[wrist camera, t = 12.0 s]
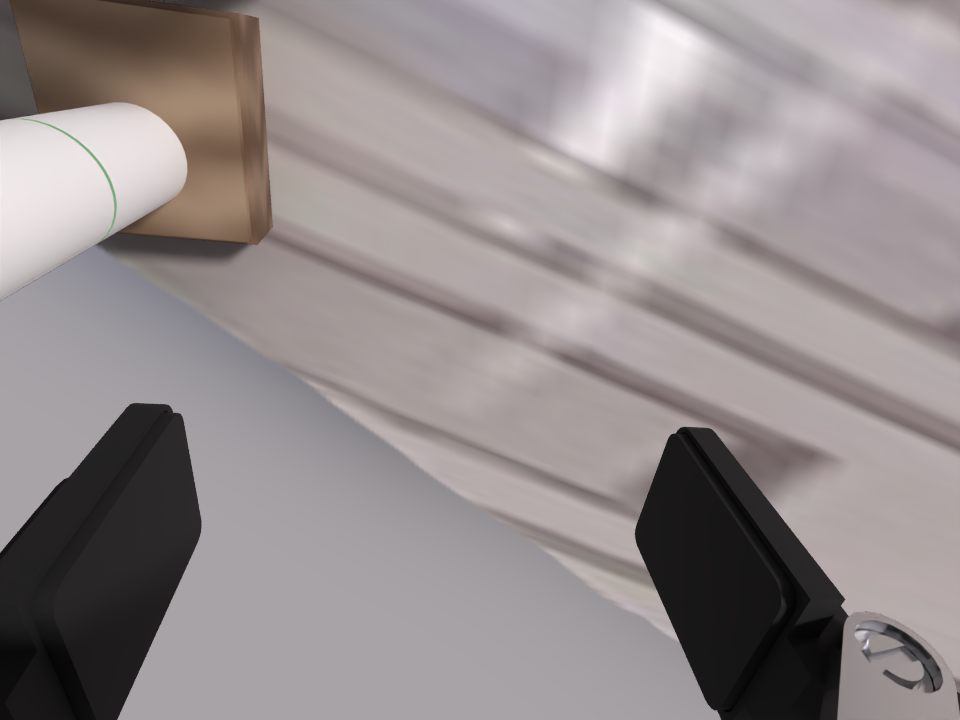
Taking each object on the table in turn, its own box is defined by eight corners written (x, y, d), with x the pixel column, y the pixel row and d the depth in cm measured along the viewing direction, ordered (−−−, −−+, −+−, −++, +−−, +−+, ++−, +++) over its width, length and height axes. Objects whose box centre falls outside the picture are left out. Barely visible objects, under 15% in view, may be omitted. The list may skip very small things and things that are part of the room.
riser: (54, -12, 38) (-3, -22, 33) (258, 18, 40) (234, 12, 35) (103, 211, 46) (63, 231, 41) (272, 226, 48) (254, 247, 43)
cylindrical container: (57, 118, 37) (-444, 207, 16) (153, 89, 37) (-220, 140, 15) (117, 217, 41) (-222, 401, 19) (205, 191, 41) (-39, 349, 19)
